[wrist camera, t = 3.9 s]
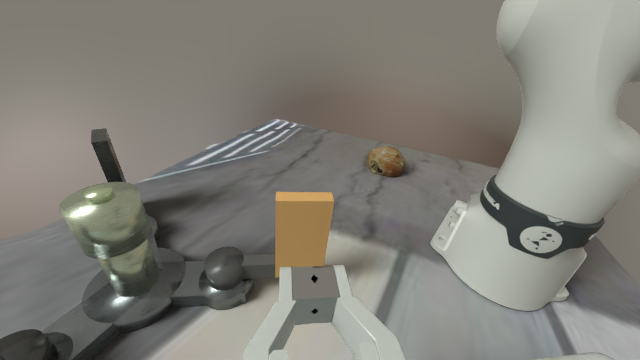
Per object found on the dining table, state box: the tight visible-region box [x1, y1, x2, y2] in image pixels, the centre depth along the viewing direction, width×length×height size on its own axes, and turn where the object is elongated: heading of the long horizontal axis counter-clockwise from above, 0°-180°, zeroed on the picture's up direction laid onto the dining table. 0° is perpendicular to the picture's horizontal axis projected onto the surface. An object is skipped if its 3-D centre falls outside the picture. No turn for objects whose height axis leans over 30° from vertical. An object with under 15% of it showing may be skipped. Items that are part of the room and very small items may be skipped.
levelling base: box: [0, 129, 254, 360], centre depth 23 cm, size 29×30×15 cm
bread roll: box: [367, 146, 405, 177], centre depth 64 cm, size 10×10×8 cm
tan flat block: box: [204, 192, 334, 290], centre depth 28 cm, size 14×4×12 cm, turn 97°
